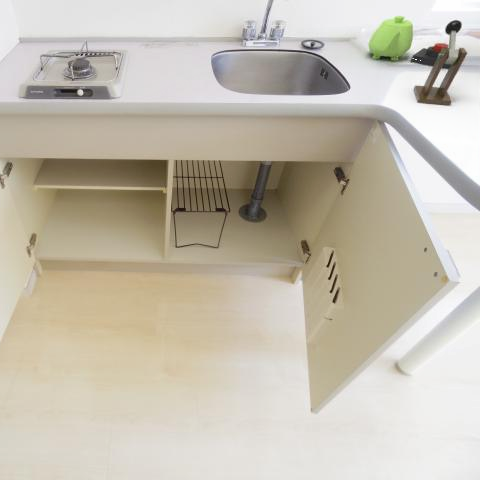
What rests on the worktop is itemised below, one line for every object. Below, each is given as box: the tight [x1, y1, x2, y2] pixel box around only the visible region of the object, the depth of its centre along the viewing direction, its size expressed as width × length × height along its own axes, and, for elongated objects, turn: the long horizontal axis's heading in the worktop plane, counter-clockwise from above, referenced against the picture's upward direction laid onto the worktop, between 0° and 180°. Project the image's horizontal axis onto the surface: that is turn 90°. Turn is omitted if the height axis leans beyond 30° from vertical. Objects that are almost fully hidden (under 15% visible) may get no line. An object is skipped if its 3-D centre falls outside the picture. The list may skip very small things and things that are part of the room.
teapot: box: [368, 15, 414, 62], centre depth 123 cm, size 20×13×13 cm
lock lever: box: [444, 19, 463, 65], centre depth 96 cm, size 14×4×4 cm, turn 160°
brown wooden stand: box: [412, 47, 468, 106], centre depth 97 cm, size 10×8×13 cm
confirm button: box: [433, 42, 449, 51], centre depth 119 cm, size 4×4×2 cm
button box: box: [409, 45, 451, 70], centre depth 120 cm, size 12×10×4 cm
